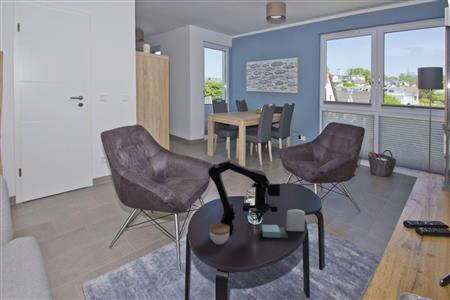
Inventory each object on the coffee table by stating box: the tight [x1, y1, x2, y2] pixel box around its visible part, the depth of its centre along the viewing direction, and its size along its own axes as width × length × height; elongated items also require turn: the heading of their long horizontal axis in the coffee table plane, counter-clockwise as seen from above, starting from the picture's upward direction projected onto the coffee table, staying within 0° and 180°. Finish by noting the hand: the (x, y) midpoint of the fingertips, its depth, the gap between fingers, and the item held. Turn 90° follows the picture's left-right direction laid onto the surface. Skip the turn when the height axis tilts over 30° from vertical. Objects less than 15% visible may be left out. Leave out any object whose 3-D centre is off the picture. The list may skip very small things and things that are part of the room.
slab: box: [261, 224, 280, 238], centre depth 165 cm, size 3×8×9 cm
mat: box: [265, 226, 289, 239], centre depth 167 cm, size 12×11×1 cm
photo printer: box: [285, 209, 306, 232], centre depth 169 cm, size 10×4×12 cm, turn 86°
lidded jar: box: [208, 222, 230, 245], centre depth 156 cm, size 11×11×9 cm
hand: (258, 221), depth 164 cm, fingers closed
